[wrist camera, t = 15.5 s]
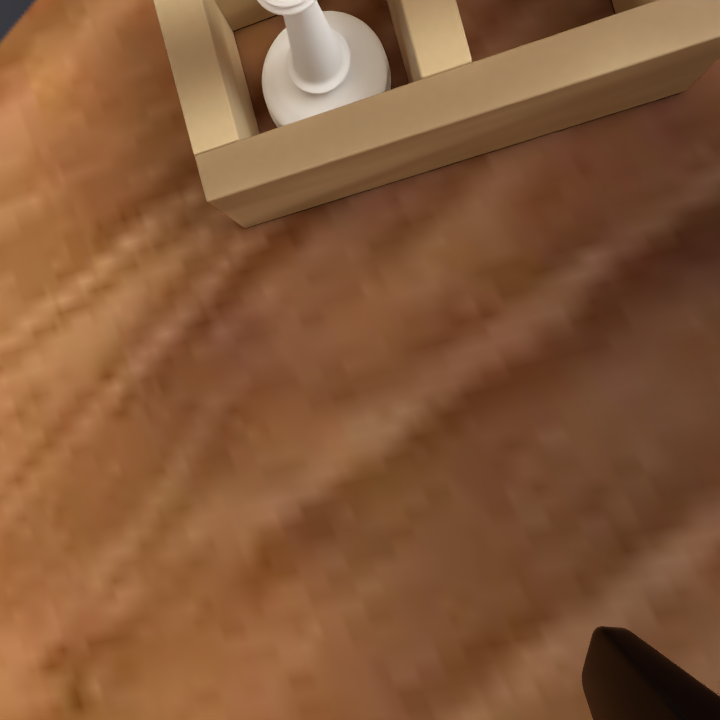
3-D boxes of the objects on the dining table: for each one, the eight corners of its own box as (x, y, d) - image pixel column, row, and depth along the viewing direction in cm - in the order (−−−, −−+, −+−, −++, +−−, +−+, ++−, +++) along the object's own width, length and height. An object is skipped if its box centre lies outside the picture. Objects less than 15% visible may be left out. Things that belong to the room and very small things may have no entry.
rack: (687, 91, 17) (754, 25, 14) (244, 229, 19) (205, 202, 16) (617, -157, 17) (667, -284, 14) (185, 6, 19) (134, -69, 16)
